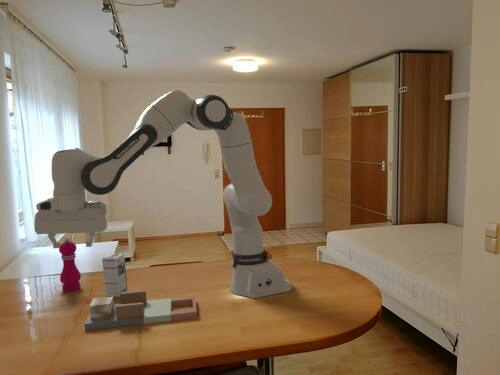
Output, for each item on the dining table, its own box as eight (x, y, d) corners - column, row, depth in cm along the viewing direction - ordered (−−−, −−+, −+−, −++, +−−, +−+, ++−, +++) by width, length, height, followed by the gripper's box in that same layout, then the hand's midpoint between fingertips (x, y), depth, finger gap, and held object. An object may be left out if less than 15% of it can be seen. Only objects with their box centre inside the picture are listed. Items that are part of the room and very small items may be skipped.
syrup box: (119, 297, 143) (116, 258, 141) (104, 296, 144) (101, 257, 142) (127, 291, 148) (124, 253, 146) (113, 290, 149) (110, 252, 148)
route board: (195, 301, 137) (194, 284, 136) (197, 317, 124) (196, 299, 123) (94, 311, 131) (92, 294, 130) (85, 330, 118) (83, 311, 117)
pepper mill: (61, 293, 148) (56, 241, 145) (60, 287, 154) (55, 237, 152) (82, 289, 151) (77, 238, 149) (80, 284, 157) (76, 234, 155)
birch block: (114, 308, 128) (113, 296, 128) (111, 316, 123) (110, 303, 122) (94, 310, 127) (93, 298, 127) (90, 318, 122) (89, 305, 121)
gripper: (108, 199, 125) (110, 242, 126) (38, 201, 122) (42, 246, 123) (103, 202, 118) (106, 248, 120) (30, 205, 116) (33, 251, 117)
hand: (73, 247), depth 122 cm, fingers open, 8 cm apart
